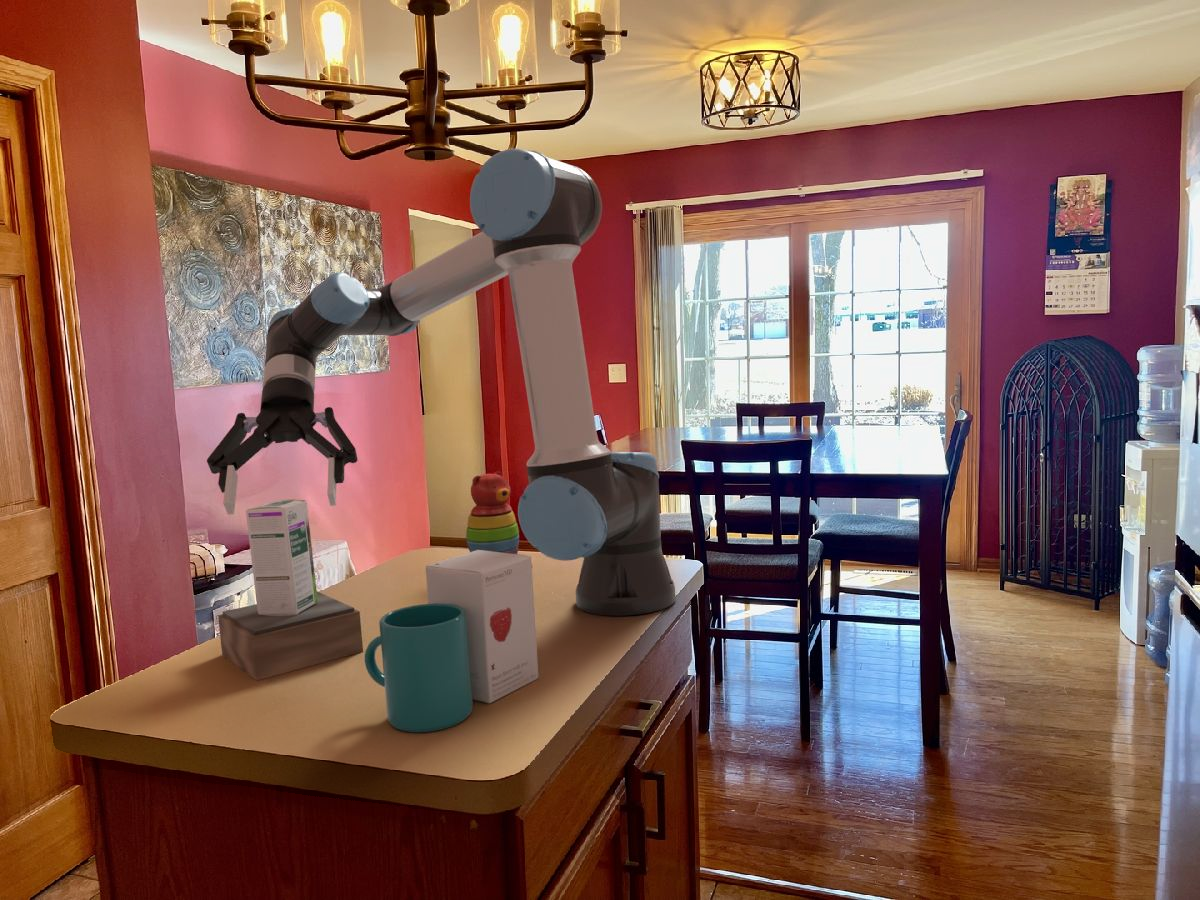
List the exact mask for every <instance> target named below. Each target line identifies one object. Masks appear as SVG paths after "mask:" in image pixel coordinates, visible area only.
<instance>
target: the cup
mask: <svg viewBox="0 0 1200 900" xmlns="http://www.w3.org/2000/svg"><path fill="white" fill-rule="evenodd" d="M378 625H379V633H380V634H379V635H378V636H376V637H375V638H373V639H372V640H371V641H370V642H369V643H368V645H367V647H366V649H365V651H364V665H365V669H366V671H367V673H368V675H369V676H370V678H371V679H372V680H373V681H374V683H376V684H377V685H379V686H381V687H384V693H385V695H384V696H385V704H386V715H387V720H388V723H389V724H390V725H391V726H392V727H394V728H396V729H398V730H400V731H403V732H404V731H405V732H408V733H409V732H410V733H429V732H436V731H441V730H445V729H449V728H450V727H451V728H452V727H453V726H456V725H458V724H460V723H462V722H463V721H465V720H466V719H467V718H468V717H469V716H470V715H471V713H472V711H473V706H474V704H473V701H474V699H472V686H471V673H470V659H469V646H468V633H467V620H466V611H465V609H464V608H462V607H460V606H457V605H453V604H443V603H433V604H428V603H422V604H416V605H415V604H414V605H408V606H405V607H401V608H398V609H395V610H392V611H390V612H387V613H386V614H384V615H383V616H381V618H380V619H379V623H378ZM379 647H381V658H382V667H383V668H382V670H383V672H382V671H381V670H380V667H379V666H378V664H377V660H376V652H377V649H378V648H379Z"/></svg>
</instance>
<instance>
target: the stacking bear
mask: <svg viewBox="0 0 1200 900" xmlns="http://www.w3.org/2000/svg"><path fill="white" fill-rule="evenodd" d="M511 491H512V490H511V485H510V484H509V482H508V481H507V479H505V478H504V477H503V474H502V473H501V471H495V472H493V473H484V474H481V475H476V476H474V477H473V478H472V484H471V487H470V495H471V498H472V500H473V502H474V504H475V506H474V507H473V508H472V509H471V510H470V513H469V515H468V517H467V527H466V532H465V533H466V535H465V536H466V537H465V538H466V544H467V548H468V551H469V552H473V551H476V550H485V551H493V552H501V553H509V554H519V544H520V534H519V533H520V530H519V526H518V523H517V519H516V515H515V513H514V511H513V507H512V506H511V505H510V504H509V503H507V502H508V500H509V498H510V496H511V494H512V493H511Z"/></svg>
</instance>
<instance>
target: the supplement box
mask: <svg viewBox="0 0 1200 900" xmlns="http://www.w3.org/2000/svg"><path fill="white" fill-rule="evenodd" d="M425 575H426V590H427V604H433V603H443V604H453V605H457V606H460V607H462V608H464V609H465V611H466V620H467V633H468V646H469V659H470V673H471V686H472V700H473V701H474V700H475V701H479V702H483V703H486V704H492V703H494V702H496V701H498V700H499V699H501V698H503V697H505V696H507V695H509V694H511V693H512V692H515V691H517V690H518V689H520V688H523V687H524V686H526V685H528V684H530V683H532V682H534V681H536V680H537V679H539V664H538V663H539V662H538V649H537V648H538V647H537V630H536V615H535V614H536V613H535V600H534V597H535V596H534V584H533V563H532V555H527V554H519V553H517V554H509V553H501V552H493V551H485V550H476V551H473V552H470V551H469V552H467V553H464V554H459V555H455V556H451V557H449V558H447V559H443V560H439V561H436V562H434V563H430V564H427V565H426V566H425Z"/></svg>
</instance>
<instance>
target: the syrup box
mask: <svg viewBox="0 0 1200 900" xmlns="http://www.w3.org/2000/svg"><path fill="white" fill-rule="evenodd" d="M308 512H309V511H308V503H307V501H306V500H304V499H280V500H272V501H268V502H266V503H264V504H260V505H257V506H254V507H250V508H247V509H246V510H245V514H246V515H245V516H246V525H247V531H248V541H249V549H250V557H251V568H252V575H253V583H254V591H255V593H254V594H255V598H256V599H255V600H256V604H257V609H258V614H259V615H268V616H287V615H298V614H299V613H300V612H301V611H303V610H305V609H307V608H308V607H310V606H312V605H314V604H316V603H317V602H318V599H317V592H318V591H317V583H316V581H317V580H316V575H315V574H316V573H315V565H314V564H315V563H314V556H313V548H312V547H313V546H312V539H311V528H310V521H309V520H310V519H309V513H308Z"/></svg>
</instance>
